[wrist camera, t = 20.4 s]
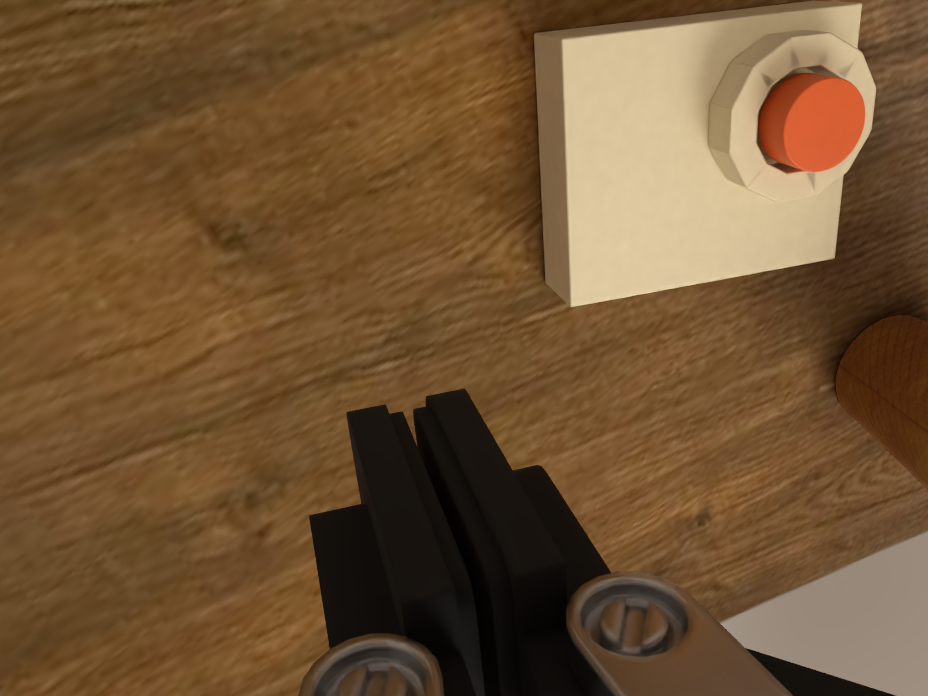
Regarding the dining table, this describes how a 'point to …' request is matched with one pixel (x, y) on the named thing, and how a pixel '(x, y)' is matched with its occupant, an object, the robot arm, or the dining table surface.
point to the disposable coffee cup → (890, 388)
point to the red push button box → (684, 148)
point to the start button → (812, 121)
